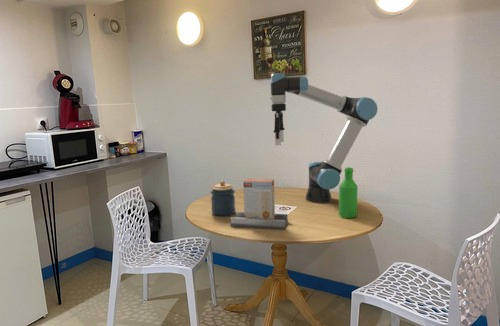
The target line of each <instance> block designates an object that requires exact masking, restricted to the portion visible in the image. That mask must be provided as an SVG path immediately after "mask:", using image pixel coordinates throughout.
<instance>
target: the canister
mask: <svg viewBox="0 0 500 326" xmlns="http://www.w3.org/2000/svg"><path fill="white" fill-rule="evenodd" d="M211 189H212V190H211V191H210V194H211V197H210V199H211V201H210V202H211V214H212V215H213V216H217V217H227V216H231V215H234V214H236V196H235V192H236V190H235V189H234V186H233V185H232V184H231V183H226V182H225V181H224V180H221V181H220V182H219V183H217V184H215V185H214V186H212V187H211Z"/></svg>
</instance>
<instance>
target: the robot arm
mask: <svg viewBox="0 0 500 326" xmlns="http://www.w3.org/2000/svg"><path fill="white" fill-rule="evenodd" d="M286 92H287V93H289V94H293V95H296V96H299V97H303V98H304V99H308V100H310V101H314V102H315V103H319V104H321V105H324V106H326V107H329V108H332V109H335V110H337V111H336V112H338V113H341V114H343V115H345V116H346V119H347V121H346V123H345V124H344V127H343V128H342V130H341V132H340V134H339V136H338V137H337V140H336V141H335V143H334V146H333V148H332V149H331V151H330V153H329V155H328V157H327V158H326V159H324V160H323V161H311V162H309V163H308V188H307V191H306V194H305V200H306V201H307V202H311V203H318V204H320V203H322V204H323V203H329V202H331V201H332V194H331V190H332V189H335V188H336V187H337V186H338V185H340V181H341V174H342V171H343V167H342V165H343V164H344V161H345V160H346V158H347V156H348V154H349V152H350V151H351V148H352V147H353V145H354V143H355V142H356V139H357V138H358V136H359V134H360V132H361V130H362V129H363V127H367V125H368V123H369V122H370V120H372V119H373V118H375V117H376V116H377V113H378V104H377V102H376V101H375V100H374V99H373V98H370V97H366V96H364V97H349V96H346V95H343V96H342V95H338V94H335V93H332V92H329V91H328V90H324V89H322V88H319V87H316V86H313V85H311V84H309V79H308V77H307V76H289V77H288V76H286V75H285V73H282V72H276V73H272V74H271V76H270V93H271V97H270V98H269V99H270V100H271V111H272V112H275V113H274V128H273V129H274V130H273V131H272V132H273V133H274V139H275V140H274V141H275V142H274V143H275V146H282V145H281V144H282V143H284V140H285V139H284V131H285V127H284V115H283V114H284V113H283V112H285V111H287V110H286V109H287V104H286V103H287V102H286V100H287V99H286Z"/></svg>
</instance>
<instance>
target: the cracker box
mask: <svg viewBox="0 0 500 326" xmlns="http://www.w3.org/2000/svg"><path fill="white" fill-rule="evenodd" d="M242 183H243V184H242V185H243V207H244V208H243V209H244V211H243V212H244V216H245V218H255V219H273V220H275V214H276V213H275V212H276V210H275V179H271V178H269V179H268V178H266V179H265V178H246V179H244V180H243V182H242Z"/></svg>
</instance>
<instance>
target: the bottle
mask: <svg viewBox="0 0 500 326" xmlns="http://www.w3.org/2000/svg"><path fill="white" fill-rule="evenodd" d="M353 175H354V168H353V167H345V168H344V179H343V180H342V182H341V183H340V184H339V187H338V190H339V193H338V194H339V195H338V202H339V203H338V215H339V216H340V217H341V218H345V219H353V217H354V218H356V217H357V215H358V185H357V184H356V181H354V178H353V177H354V176H353Z"/></svg>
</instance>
